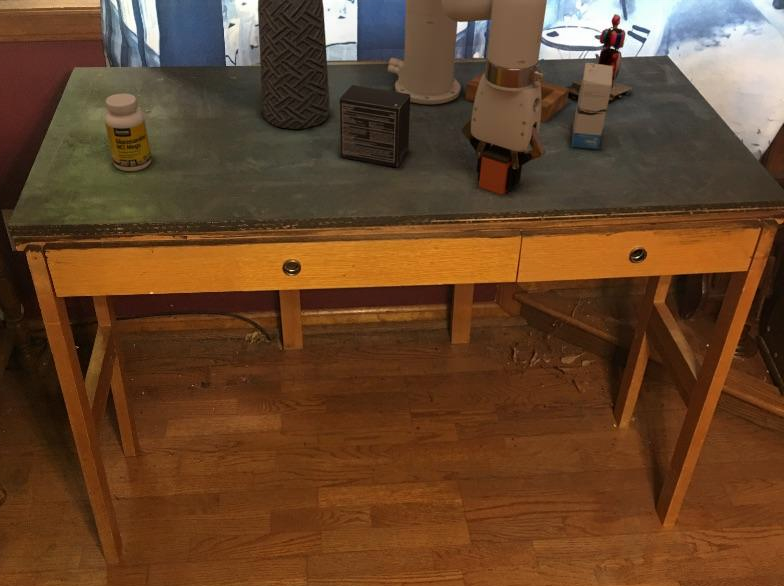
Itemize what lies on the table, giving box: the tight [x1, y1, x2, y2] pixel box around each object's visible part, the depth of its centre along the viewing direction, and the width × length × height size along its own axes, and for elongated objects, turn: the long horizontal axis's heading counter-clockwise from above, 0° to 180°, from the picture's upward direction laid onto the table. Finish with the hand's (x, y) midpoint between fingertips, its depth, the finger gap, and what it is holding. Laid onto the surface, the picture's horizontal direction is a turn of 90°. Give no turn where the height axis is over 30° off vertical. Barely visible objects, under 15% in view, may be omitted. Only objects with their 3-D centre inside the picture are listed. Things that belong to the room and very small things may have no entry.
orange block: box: [478, 144, 511, 196], centre depth 138 cm, size 4×4×6 cm
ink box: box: [571, 62, 613, 150], centre depth 148 cm, size 8×5×12 cm, turn 168°
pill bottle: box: [104, 93, 152, 172], centre depth 139 cm, size 6×6×11 cm
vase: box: [257, 0, 331, 130], centre depth 147 cm, size 12×12×28 cm
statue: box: [566, 13, 633, 102], centre depth 162 cm, size 11×9×15 cm
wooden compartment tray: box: [465, 70, 569, 123], centre depth 162 cm, size 9×17×3 cm, turn 56°
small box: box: [339, 84, 411, 168], centre depth 143 cm, size 11×6×10 cm, turn 71°
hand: (497, 181), depth 139 cm, fingers closed on orange block, 4 cm apart
